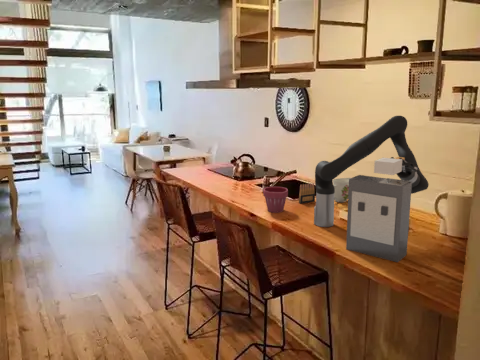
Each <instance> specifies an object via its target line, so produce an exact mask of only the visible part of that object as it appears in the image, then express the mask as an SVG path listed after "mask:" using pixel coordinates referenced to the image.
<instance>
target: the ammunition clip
mask: <svg viewBox="0 0 480 360" xmlns="http://www.w3.org/2000/svg"><path fill="white" fill-rule="evenodd" d="M313 202H314V203H316V193H315V182H312V183H310V184H309V182H308V183H305V184H304V183H303V184H300V186H299V195H298V203H299V204H308V203H313Z"/></svg>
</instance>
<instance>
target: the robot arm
mask: <svg viewBox="0 0 480 360" xmlns="http://www.w3.org/2000/svg"><path fill="white" fill-rule="evenodd" d="M407 129H408V120H407V118H406V117H405V116H402V115H394V116H392V117H390V118H389V119H388V120H386V122H384V123H383V124H382V125H380V126H379V127H377V128H376V129H374V130H373V131H371V132H369V133H368V134H365V135H364V136H363V137H361V138H359V139H358V140H356V141H355V142H353V143H351V144H350V145H349V146H348V147H347V148H346V150H345V151H344V152H343V153H342V155H340V156H339V157H337V158H335V159H334V160H331V161H328V160H321V161H319V162H318V163H317V164H316V166H315V170H314V187H315V189H316V190H315V191H316V193H315V205H314V208H313V209H314V211H313V225H316V226H317V227H322V228H323V227H324V228H330V227H333V226H334V224H335V223H334V221H335V218H334V217H335V200H334V194H335V188H334V186H333V180H334V179H337V178H338V176H340V175H341V174H342V173H343V172H344V171H346V170H348V168H350V167H352V166H353V165H356V164H358V162H360V161H361V160H364V159H365V158H367V157H369V156H370V155H371V154H372V153H374V152H375V151H376V150H377V149H378V148H380V146H382V144H383V143H385V142H386V141H387V140H388V139H390V140H391V142H392V144H393V146H394V148H395V150H396V153H397V157H403V158H405V161H404V160H403V159H402V158H399V159H402V171H401V172H399V173H397V174H396V175H397V177H398V178H399V180H406V181H410V182H412V188H411V195H412V194H417V193H420V192H423V191H426V190H428V188H429V185H430V184H429V181H428V179H427V178H426V177H425V175H424V174H423V173H422V172H421V170H420V167H419V164H418V162H417V159H416V157H415V155H414V153H413V151H412V150H411V148H410V146H409V145H408V142H407V138H406V130H407ZM390 158H393V159H394V156H391V157H390Z"/></svg>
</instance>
